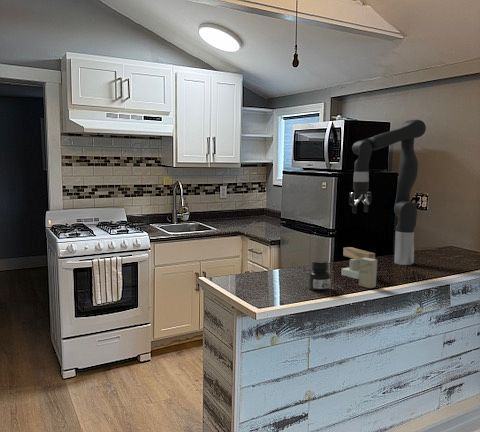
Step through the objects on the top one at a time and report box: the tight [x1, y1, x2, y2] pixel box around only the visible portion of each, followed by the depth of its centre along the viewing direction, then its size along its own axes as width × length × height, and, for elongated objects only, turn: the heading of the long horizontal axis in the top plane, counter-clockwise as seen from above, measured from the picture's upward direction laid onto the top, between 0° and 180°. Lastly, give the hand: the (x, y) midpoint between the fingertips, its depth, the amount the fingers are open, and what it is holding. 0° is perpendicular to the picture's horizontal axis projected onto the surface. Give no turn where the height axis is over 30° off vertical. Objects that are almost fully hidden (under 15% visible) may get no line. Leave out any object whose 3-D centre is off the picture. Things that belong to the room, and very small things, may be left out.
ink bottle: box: [308, 259, 331, 292], centre depth 195 cm, size 10×9×12 cm
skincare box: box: [358, 257, 378, 289], centre depth 199 cm, size 6×4×12 cm
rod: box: [342, 246, 376, 260], centre depth 218 cm, size 4×18×4 cm, turn 25°
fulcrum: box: [340, 258, 360, 280], centre depth 219 cm, size 12×10×8 cm
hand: (360, 212), depth 234 cm, fingers open, 8 cm apart
